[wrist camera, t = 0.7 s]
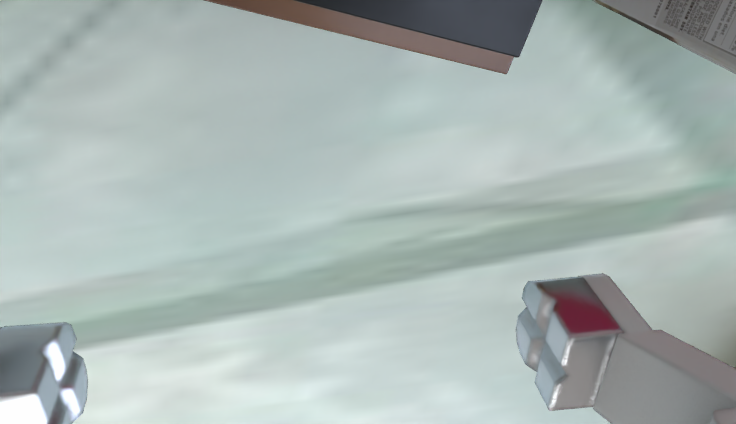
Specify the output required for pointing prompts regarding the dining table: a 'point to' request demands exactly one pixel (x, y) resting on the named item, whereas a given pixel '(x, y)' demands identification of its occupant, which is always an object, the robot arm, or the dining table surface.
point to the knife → (450, 19)
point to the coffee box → (687, 24)
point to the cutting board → (374, 32)
